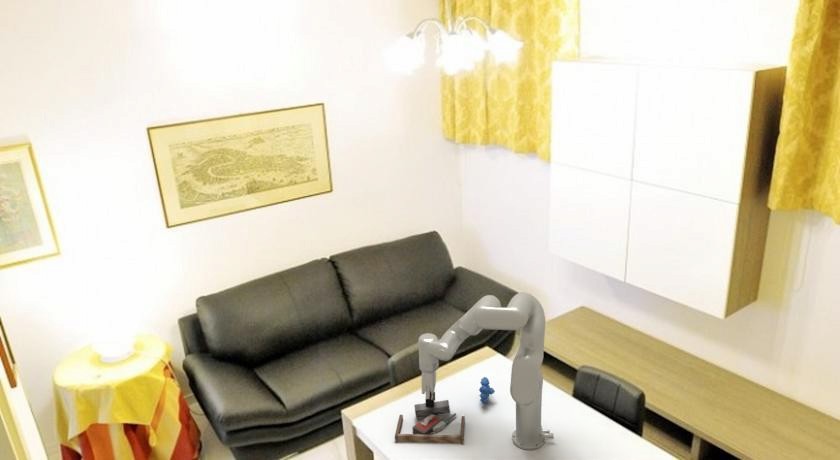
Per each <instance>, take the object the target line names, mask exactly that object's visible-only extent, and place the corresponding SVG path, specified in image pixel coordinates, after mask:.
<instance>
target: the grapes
mask: <svg viewBox="0 0 840 460" xmlns="http://www.w3.org/2000/svg"><path fill="white" fill-rule="evenodd" d="M479 383H480V384H481V386H480V387H479V389H478V391H479V392H480V394H479V397H480V400H479V401H480V403H481V404H483V405H485V404H487V403H489V401H490V400H489V399H488V398H489V397H490V395H493V394H495V392H496V391H495V389H494V388H493V387H490V379H489V378H488V377H486V376H483V378H481V379H480V382H479Z"/></svg>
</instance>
